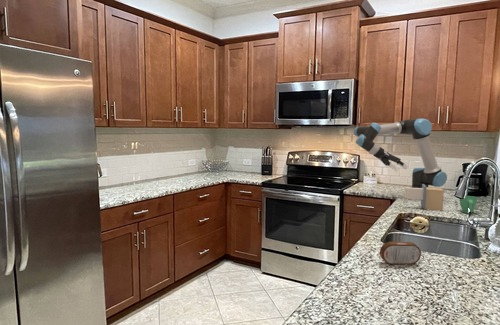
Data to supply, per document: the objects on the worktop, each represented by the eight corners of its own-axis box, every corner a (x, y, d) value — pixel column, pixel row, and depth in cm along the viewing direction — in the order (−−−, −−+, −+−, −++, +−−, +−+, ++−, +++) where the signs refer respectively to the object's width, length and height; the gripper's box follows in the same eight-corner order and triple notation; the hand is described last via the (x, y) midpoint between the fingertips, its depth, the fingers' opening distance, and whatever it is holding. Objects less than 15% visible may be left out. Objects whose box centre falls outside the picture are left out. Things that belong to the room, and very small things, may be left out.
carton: (440, 207, 225) (441, 188, 223) (442, 211, 215) (443, 190, 214) (423, 206, 228) (424, 187, 227) (425, 209, 219) (426, 189, 218)
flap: (423, 204, 229) (424, 184, 227) (425, 208, 217) (426, 186, 216) (403, 203, 233) (404, 182, 232) (404, 207, 221) (405, 185, 220)
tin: (417, 262, 128) (418, 241, 128) (421, 265, 125) (423, 243, 124) (378, 262, 128) (379, 240, 128) (382, 265, 125) (383, 243, 124)
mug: (457, 210, 218) (458, 195, 217) (474, 211, 214) (475, 196, 213) (461, 215, 205) (462, 199, 204) (480, 216, 201) (481, 200, 200)
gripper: (366, 157, 242) (391, 174, 240) (380, 152, 217) (408, 171, 216) (372, 149, 242) (396, 166, 241) (387, 143, 218) (414, 162, 216)
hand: (402, 168), depth 228 cm, fingers open, 13 cm apart
